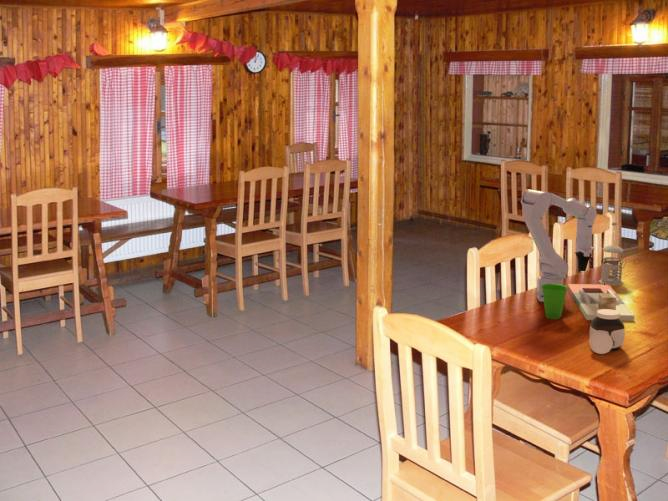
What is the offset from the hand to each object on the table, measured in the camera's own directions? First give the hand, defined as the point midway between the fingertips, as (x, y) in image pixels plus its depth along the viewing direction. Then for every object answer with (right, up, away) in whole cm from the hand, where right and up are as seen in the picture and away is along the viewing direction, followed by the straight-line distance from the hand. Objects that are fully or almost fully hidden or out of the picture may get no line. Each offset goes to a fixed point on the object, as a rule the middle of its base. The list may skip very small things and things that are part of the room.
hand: (582, 270), depth 321 cm
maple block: (+1, -13, -25) cm, 28 cm away
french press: (+18, -5, +20) cm, 27 cm away
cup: (-18, -16, -26) cm, 36 cm away
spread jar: (-11, -23, -61) cm, 66 cm away
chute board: (+3, -12, -11) cm, 17 cm away
